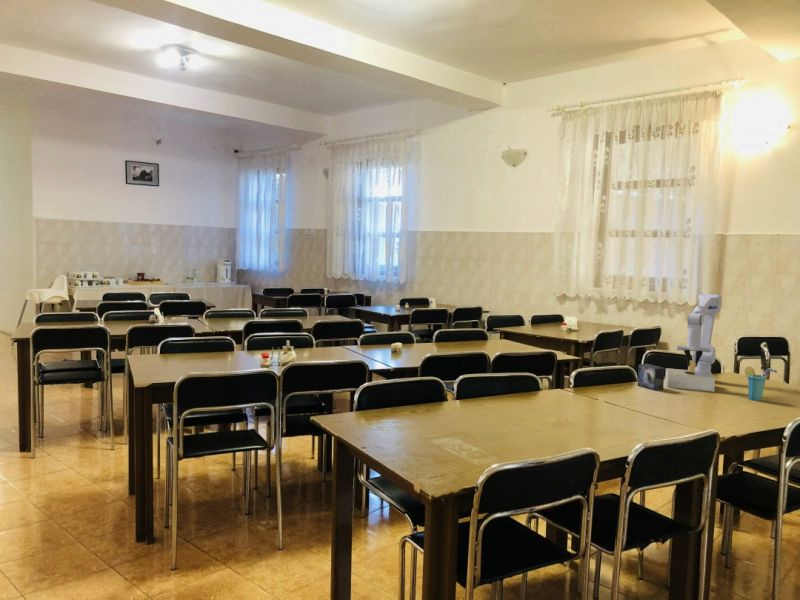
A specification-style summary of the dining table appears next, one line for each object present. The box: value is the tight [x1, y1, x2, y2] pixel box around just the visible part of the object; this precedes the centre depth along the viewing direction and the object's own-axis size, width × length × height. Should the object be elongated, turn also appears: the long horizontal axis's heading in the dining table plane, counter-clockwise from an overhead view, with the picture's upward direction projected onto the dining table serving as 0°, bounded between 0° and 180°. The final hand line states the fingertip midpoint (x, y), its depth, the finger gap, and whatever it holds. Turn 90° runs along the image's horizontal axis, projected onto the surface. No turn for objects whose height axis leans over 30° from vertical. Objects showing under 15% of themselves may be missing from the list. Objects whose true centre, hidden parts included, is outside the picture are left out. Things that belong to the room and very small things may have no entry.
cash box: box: [664, 367, 716, 393], centre depth 298 cm, size 16×20×6 cm
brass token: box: [687, 359, 696, 373], centre depth 299 cm, size 5×2×5 cm, turn 161°
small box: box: [636, 363, 666, 391], centre depth 292 cm, size 11×6×10 cm, turn 25°
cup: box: [744, 366, 778, 402], centre depth 273 cm, size 14×8×15 cm, turn 34°
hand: (692, 366), depth 297 cm, fingers closed on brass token, 2 cm apart
